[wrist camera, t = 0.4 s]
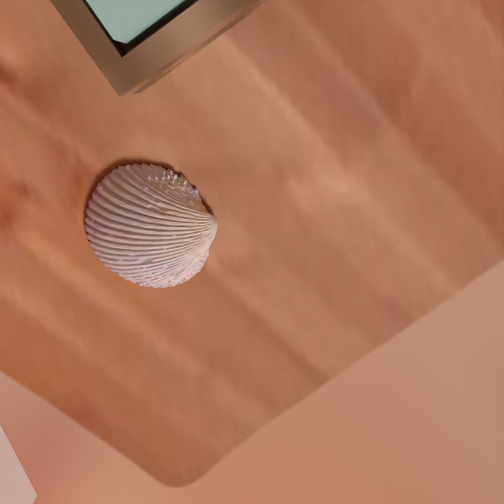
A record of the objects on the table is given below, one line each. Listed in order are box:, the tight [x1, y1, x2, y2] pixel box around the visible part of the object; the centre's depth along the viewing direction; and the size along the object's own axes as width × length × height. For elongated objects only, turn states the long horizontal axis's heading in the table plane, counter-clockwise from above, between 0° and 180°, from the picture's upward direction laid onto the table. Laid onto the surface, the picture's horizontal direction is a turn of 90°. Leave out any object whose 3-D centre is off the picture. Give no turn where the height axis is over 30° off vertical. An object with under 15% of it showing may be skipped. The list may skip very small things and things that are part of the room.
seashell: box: [84, 163, 218, 288], centre depth 35 cm, size 10×6×10 cm
